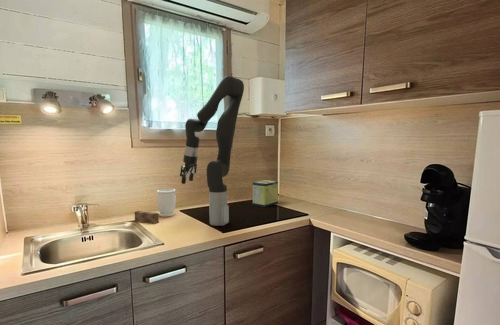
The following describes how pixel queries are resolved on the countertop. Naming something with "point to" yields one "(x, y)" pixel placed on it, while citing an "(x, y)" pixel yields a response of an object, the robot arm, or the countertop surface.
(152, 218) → the bar
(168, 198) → the jar
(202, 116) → the robot arm
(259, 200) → the protein box
